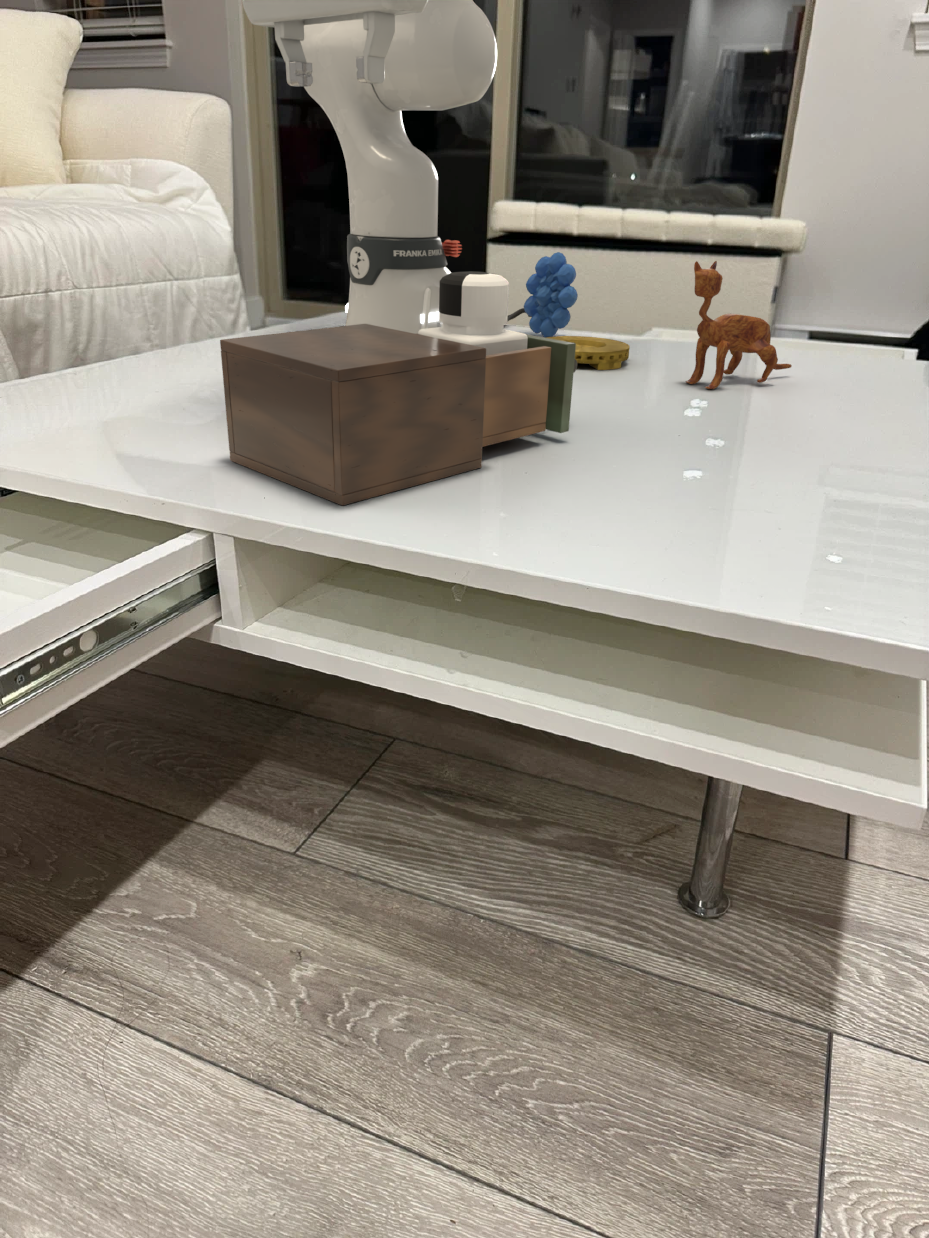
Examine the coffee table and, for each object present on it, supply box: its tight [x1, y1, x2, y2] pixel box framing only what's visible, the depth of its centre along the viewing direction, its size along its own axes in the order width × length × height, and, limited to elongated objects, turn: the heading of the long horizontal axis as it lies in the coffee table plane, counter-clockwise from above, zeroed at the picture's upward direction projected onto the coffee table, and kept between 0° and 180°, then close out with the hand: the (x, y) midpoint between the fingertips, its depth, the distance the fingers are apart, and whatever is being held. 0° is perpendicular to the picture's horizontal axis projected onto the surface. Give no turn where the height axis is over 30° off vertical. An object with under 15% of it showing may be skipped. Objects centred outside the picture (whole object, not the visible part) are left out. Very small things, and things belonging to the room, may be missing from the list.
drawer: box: [417, 333, 578, 448], centre depth 82 cm, size 18×13×8 cm
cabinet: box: [219, 324, 486, 506], centre depth 72 cm, size 15×15×10 cm
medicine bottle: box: [418, 271, 528, 355], centre depth 80 cm, size 7×7×12 cm
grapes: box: [523, 251, 579, 338], centre depth 132 cm, size 12×7×12 cm, turn 30°
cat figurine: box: [685, 260, 792, 390], centre depth 106 cm, size 18×7×14 cm, turn 121°
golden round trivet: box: [546, 335, 631, 371], centre depth 118 cm, size 12×12×2 cm
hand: (334, 85), depth 76 cm, fingers open, 8 cm apart
